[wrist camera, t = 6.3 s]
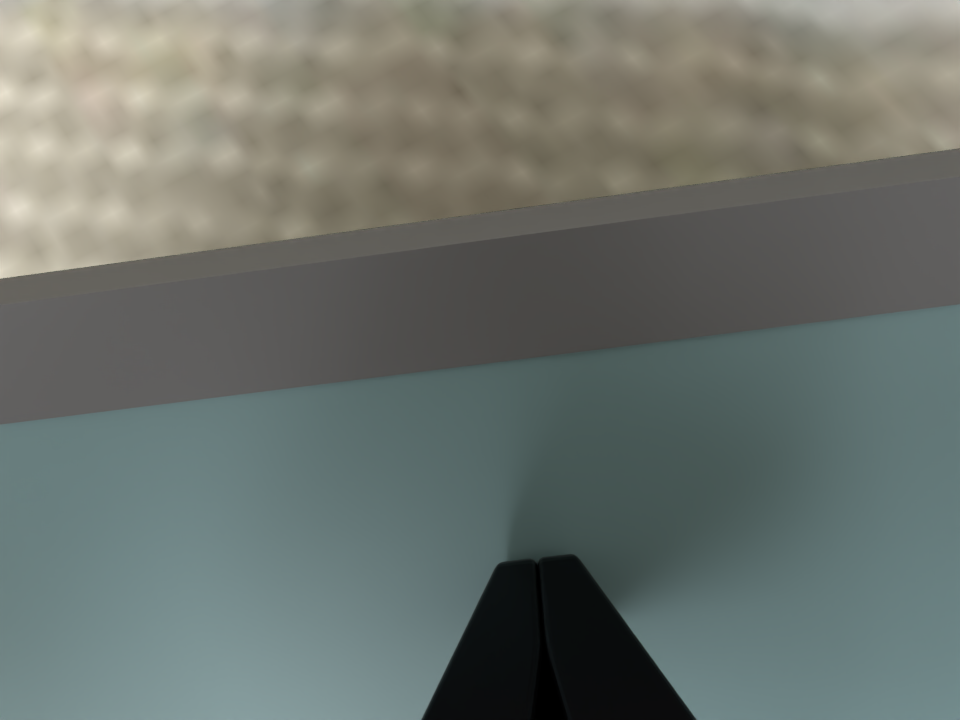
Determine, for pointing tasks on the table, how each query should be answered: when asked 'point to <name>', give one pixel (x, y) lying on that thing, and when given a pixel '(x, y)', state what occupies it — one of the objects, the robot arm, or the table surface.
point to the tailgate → (497, 453)
